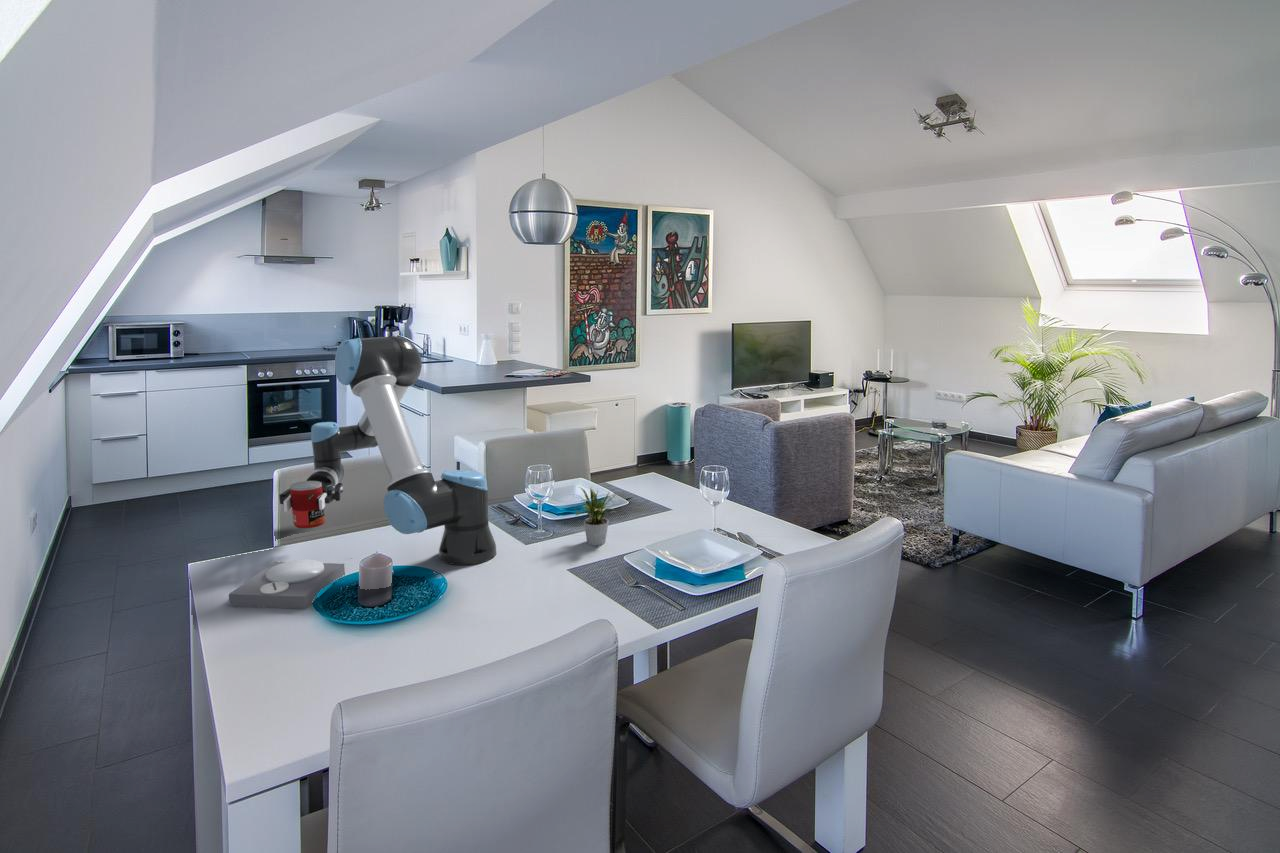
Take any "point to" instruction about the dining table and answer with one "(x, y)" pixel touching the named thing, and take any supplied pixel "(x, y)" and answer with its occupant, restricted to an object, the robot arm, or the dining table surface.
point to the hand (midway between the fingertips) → (303, 505)
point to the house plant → (595, 519)
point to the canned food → (307, 504)
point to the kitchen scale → (286, 584)
